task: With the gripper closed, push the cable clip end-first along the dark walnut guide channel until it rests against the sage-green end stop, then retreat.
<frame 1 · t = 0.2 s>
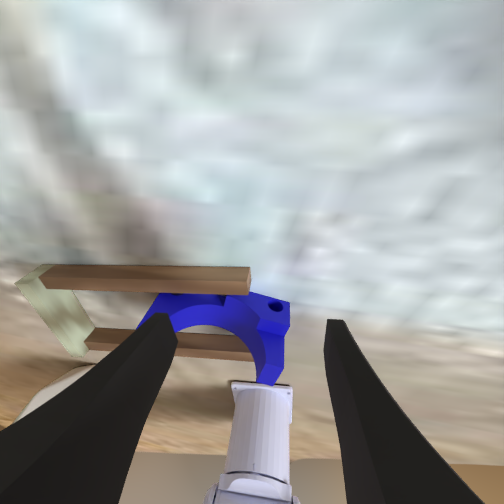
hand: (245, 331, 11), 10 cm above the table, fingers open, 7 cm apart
vase: (106, 378, 36), on the table
guide: (162, 307, 26), on the table
cable clip: (226, 299, 24), on the table
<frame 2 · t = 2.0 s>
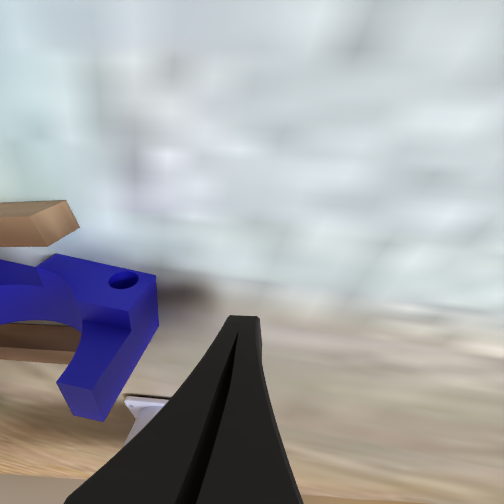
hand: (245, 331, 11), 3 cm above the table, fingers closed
cable clip: (70, 278, 15), on the table
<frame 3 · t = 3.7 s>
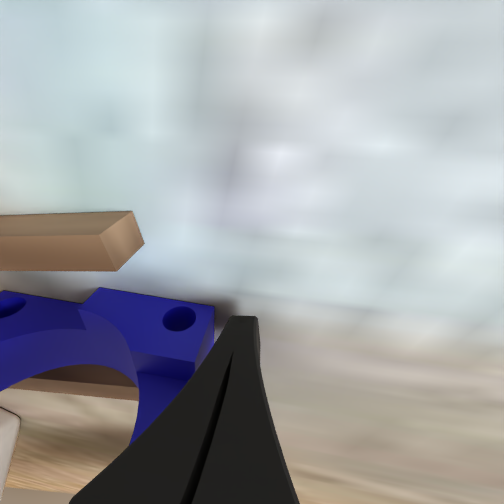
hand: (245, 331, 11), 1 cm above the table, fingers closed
guide: (9, 304, 14), on the table
cable clip: (111, 314, 14), on the table, touching gripper
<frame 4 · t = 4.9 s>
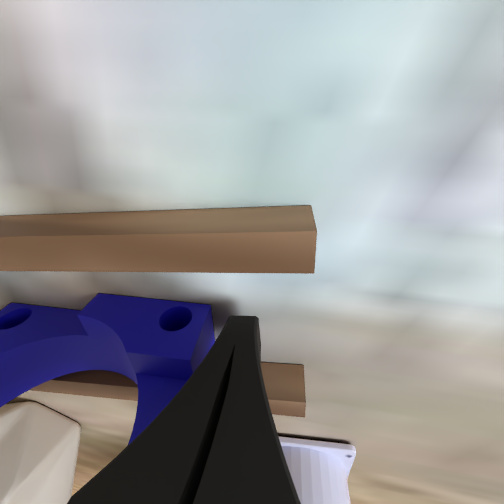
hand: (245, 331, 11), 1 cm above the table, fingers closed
vase: (52, 418, 24), on the table
guide: (116, 308, 13), on the table
cable clip: (113, 320, 14), on the table, touching gripper
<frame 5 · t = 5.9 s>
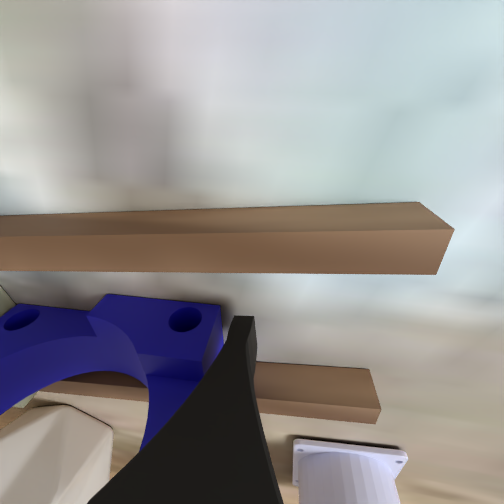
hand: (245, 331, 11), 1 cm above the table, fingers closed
vase: (83, 422, 23), on the table
guide: (177, 310, 12), on the table
cable clip: (121, 320, 14), on the table, touching gripper, guide
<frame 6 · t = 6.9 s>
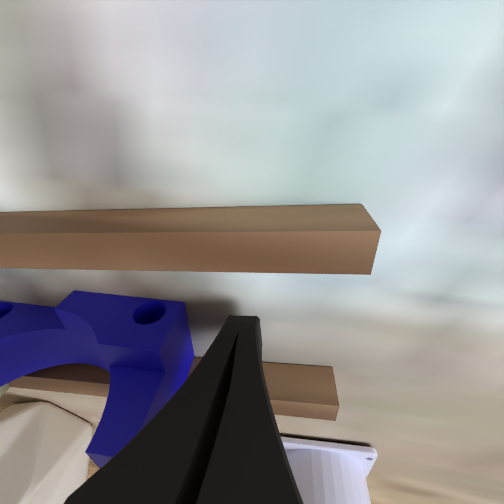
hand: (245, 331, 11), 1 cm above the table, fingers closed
vase: (63, 419, 23), on the table
guide: (143, 308, 13), on the table
cable clip: (93, 314, 14), on the table
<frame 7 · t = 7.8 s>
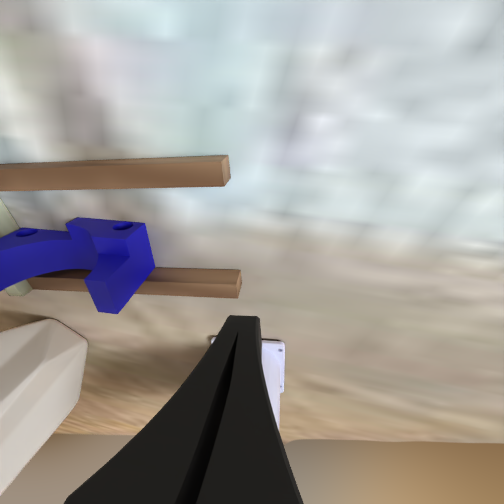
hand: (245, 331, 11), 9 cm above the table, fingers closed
vase: (66, 338, 31), on the table
guide: (120, 228, 20), on the table
cable clip: (89, 238, 22), on the table
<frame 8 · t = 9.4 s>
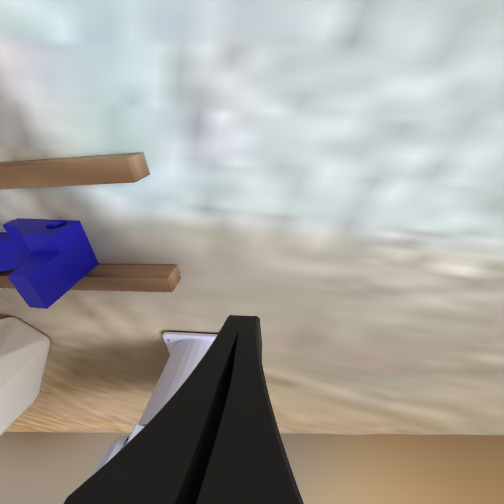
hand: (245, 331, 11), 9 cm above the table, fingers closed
vase: (30, 336, 32), on the table
guide: (58, 226, 21), on the table
cable clip: (34, 238, 23), on the table
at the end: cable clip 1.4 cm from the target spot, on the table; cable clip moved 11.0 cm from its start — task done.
